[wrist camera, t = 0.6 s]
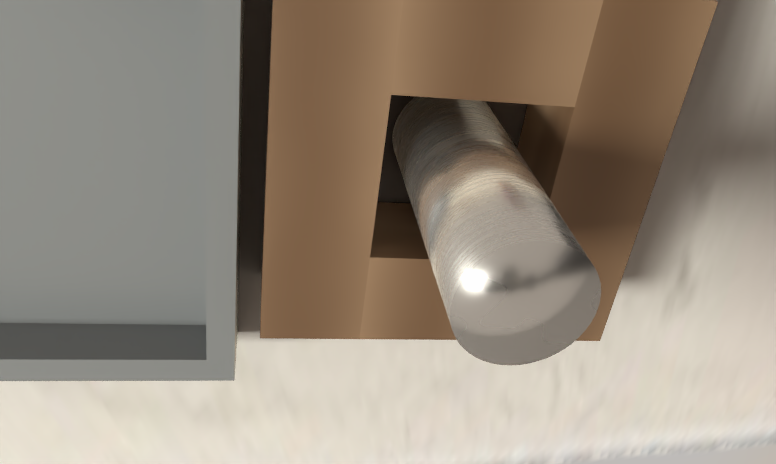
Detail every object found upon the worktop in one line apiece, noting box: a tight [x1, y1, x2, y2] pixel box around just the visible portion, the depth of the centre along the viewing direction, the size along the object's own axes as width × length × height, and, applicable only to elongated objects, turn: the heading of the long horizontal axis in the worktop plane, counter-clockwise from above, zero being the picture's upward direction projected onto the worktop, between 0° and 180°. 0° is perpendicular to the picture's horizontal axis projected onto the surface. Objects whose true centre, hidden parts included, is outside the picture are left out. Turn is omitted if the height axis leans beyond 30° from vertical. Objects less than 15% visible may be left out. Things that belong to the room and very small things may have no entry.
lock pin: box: [392, 96, 601, 365], centre depth 17 cm, size 3×3×8 cm
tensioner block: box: [260, 0, 718, 341], centre depth 20 cm, size 10×10×3 cm
